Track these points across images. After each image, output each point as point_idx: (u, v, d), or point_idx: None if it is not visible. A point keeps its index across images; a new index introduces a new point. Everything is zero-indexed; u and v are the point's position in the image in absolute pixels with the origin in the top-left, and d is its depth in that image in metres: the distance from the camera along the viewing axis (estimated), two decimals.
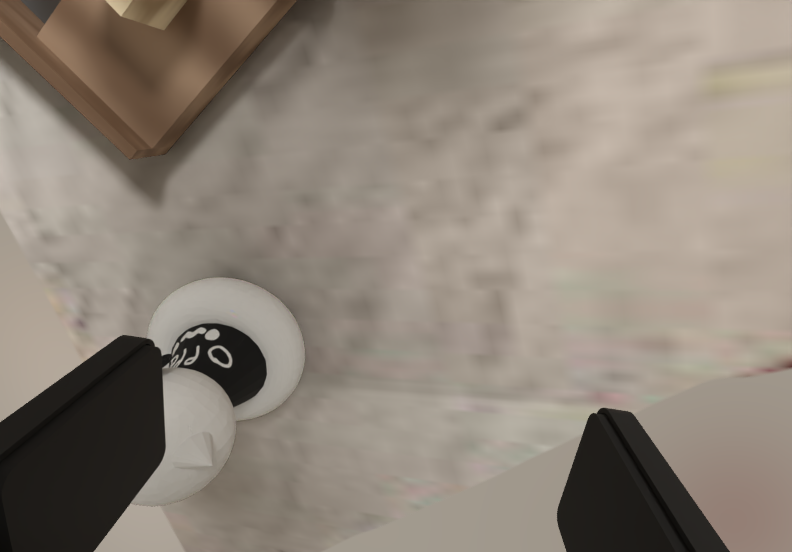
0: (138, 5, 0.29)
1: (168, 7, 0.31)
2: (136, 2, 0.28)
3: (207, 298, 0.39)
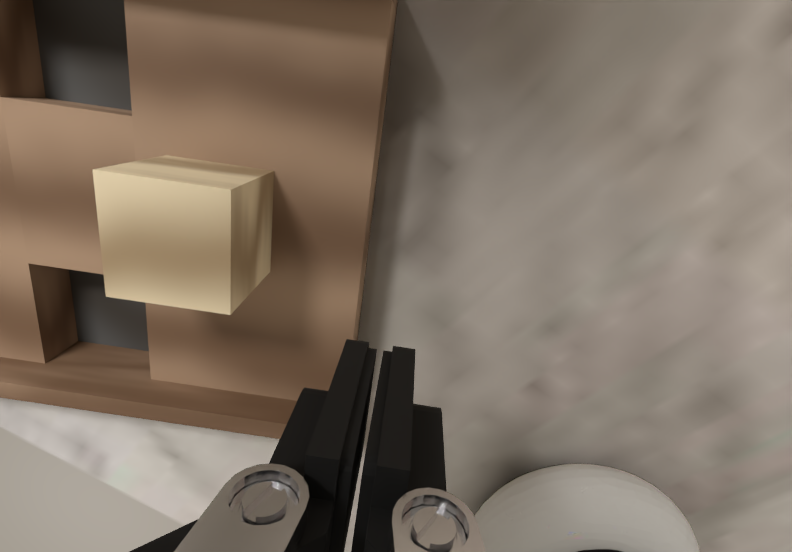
0: (238, 281, 0.18)
1: (262, 245, 0.21)
2: (234, 282, 0.18)
3: (526, 534, 0.26)
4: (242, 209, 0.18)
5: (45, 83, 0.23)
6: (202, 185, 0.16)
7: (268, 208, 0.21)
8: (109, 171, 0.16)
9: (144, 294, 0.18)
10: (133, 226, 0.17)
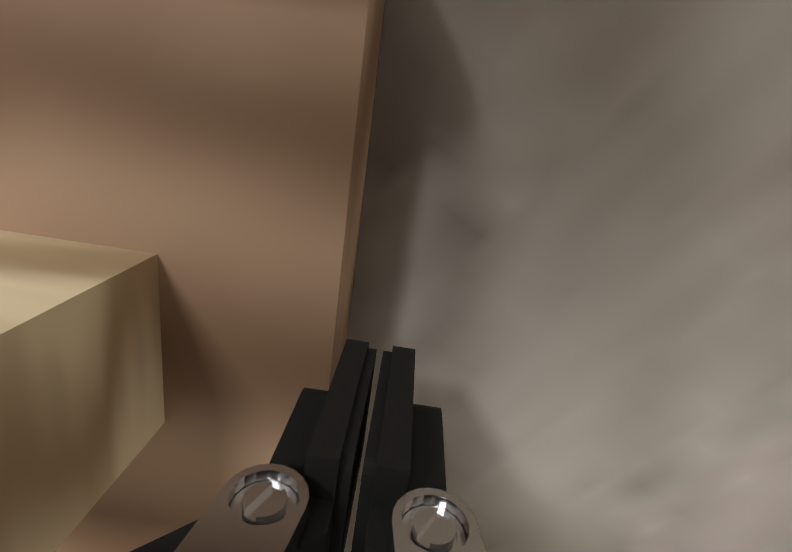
0: (40, 516, 0.08)
1: (130, 397, 0.11)
2: (20, 530, 0.08)
3: None
4: (36, 371, 0.08)
5: None
6: None
7: (147, 324, 0.11)
8: None
9: None
10: None
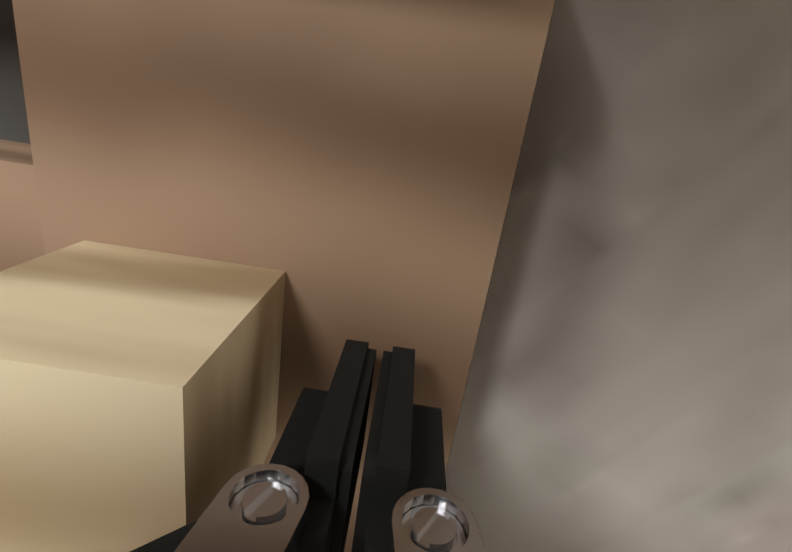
0: None
1: (261, 414, 0.11)
2: None
3: None
4: (218, 395, 0.08)
5: None
6: (111, 373, 0.06)
7: (275, 341, 0.11)
8: None
9: None
10: None
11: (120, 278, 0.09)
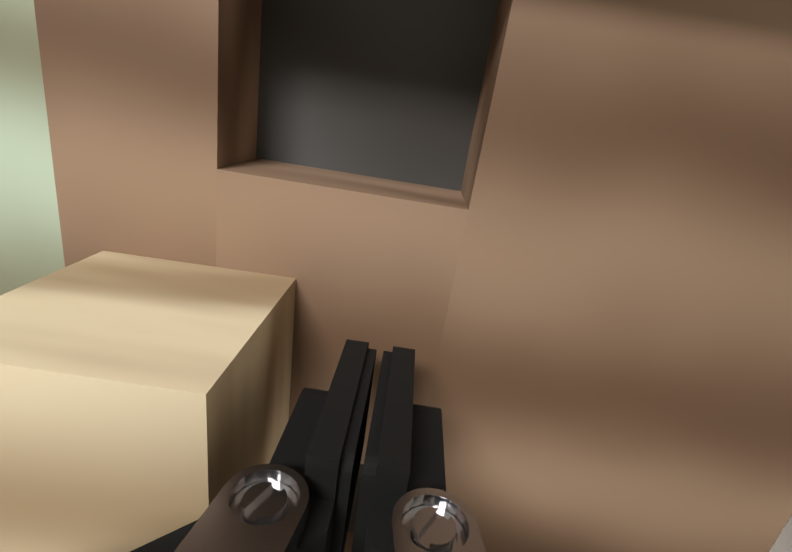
0: None
1: (274, 415, 0.11)
2: None
3: None
4: (237, 400, 0.08)
5: (258, 133, 0.13)
6: (140, 382, 0.07)
7: (287, 345, 0.12)
8: None
9: None
10: None
11: (140, 288, 0.10)
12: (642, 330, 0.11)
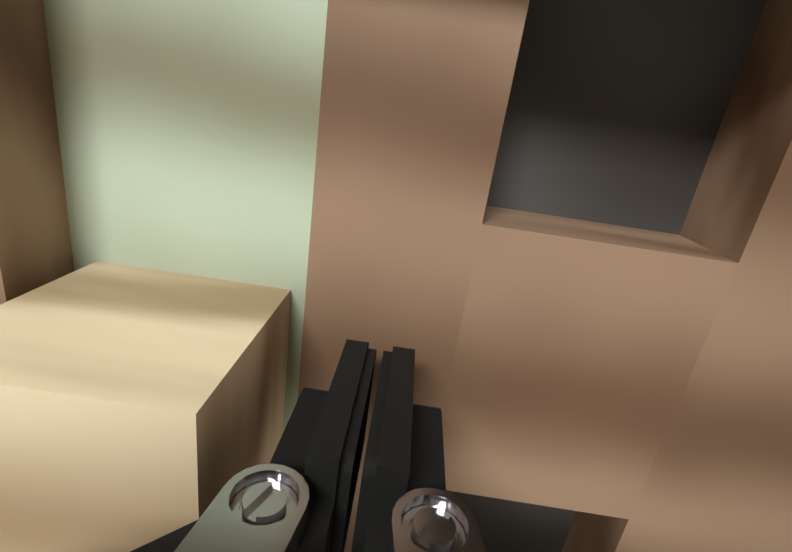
0: None
1: (269, 428, 0.11)
2: None
3: None
4: (228, 416, 0.08)
5: None
6: (129, 401, 0.07)
7: (281, 357, 0.11)
8: None
9: None
10: None
11: (132, 301, 0.10)
12: None
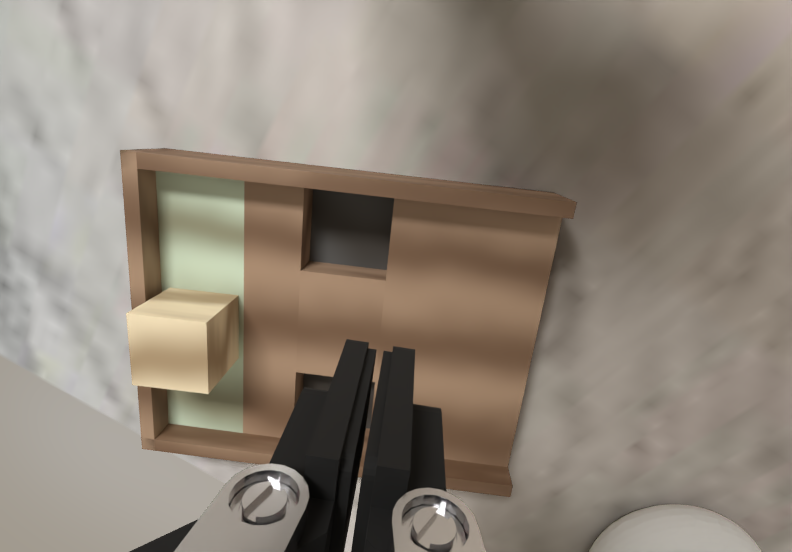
0: (213, 372, 0.29)
1: (231, 344, 0.32)
2: (210, 373, 0.29)
3: None
4: (215, 329, 0.29)
5: (310, 251, 0.34)
6: (189, 320, 0.28)
7: (235, 319, 0.32)
8: (136, 313, 0.28)
9: (156, 382, 0.29)
10: (149, 344, 0.28)
11: (185, 299, 0.31)
12: (451, 320, 0.32)
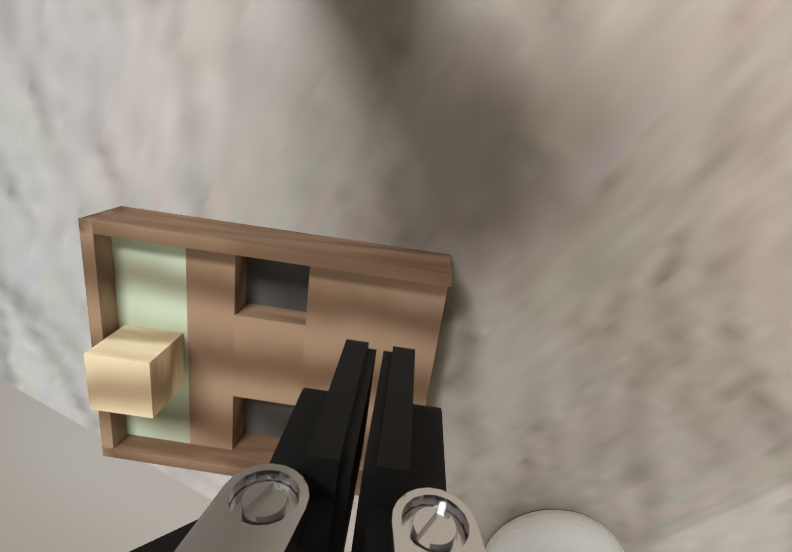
0: (158, 400, 0.36)
1: (176, 373, 0.38)
2: (155, 401, 0.35)
3: None
4: (158, 366, 0.35)
5: (246, 295, 0.40)
6: (136, 360, 0.34)
7: (180, 352, 0.38)
8: (91, 353, 0.34)
9: (109, 408, 0.35)
10: (103, 377, 0.34)
11: (136, 337, 0.37)
12: None
